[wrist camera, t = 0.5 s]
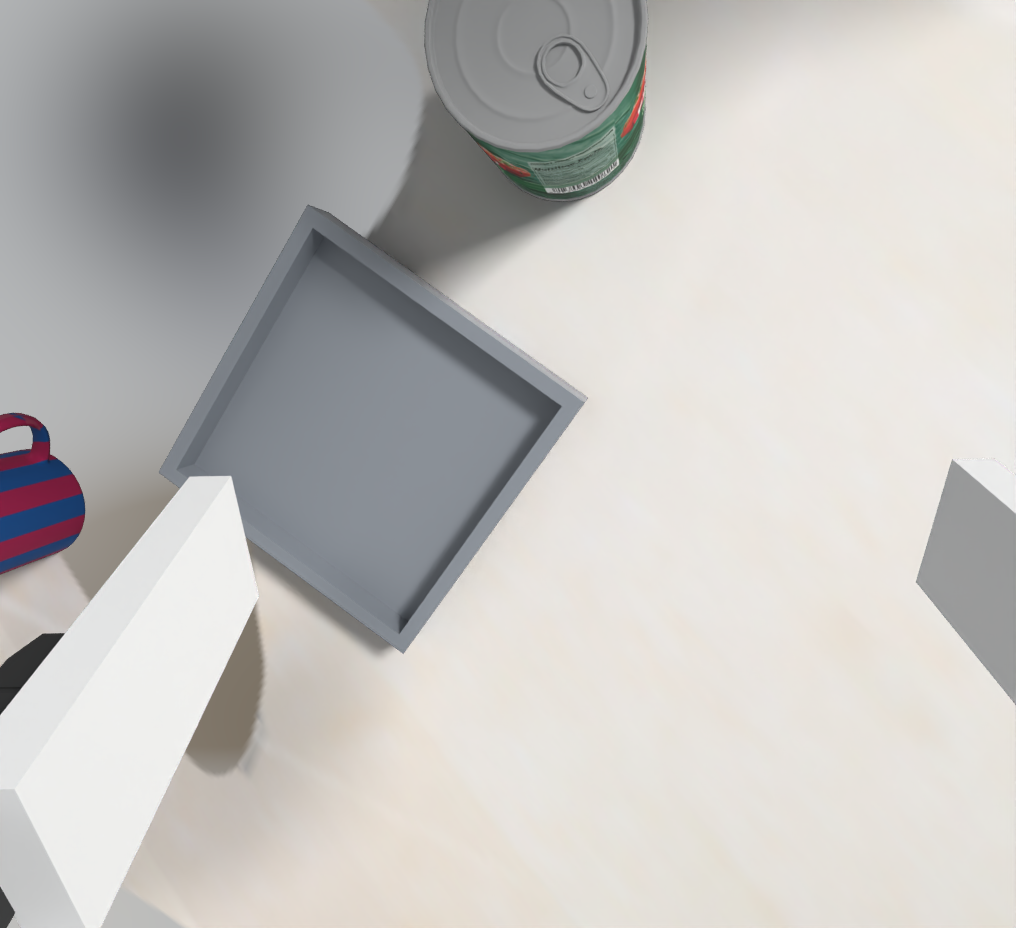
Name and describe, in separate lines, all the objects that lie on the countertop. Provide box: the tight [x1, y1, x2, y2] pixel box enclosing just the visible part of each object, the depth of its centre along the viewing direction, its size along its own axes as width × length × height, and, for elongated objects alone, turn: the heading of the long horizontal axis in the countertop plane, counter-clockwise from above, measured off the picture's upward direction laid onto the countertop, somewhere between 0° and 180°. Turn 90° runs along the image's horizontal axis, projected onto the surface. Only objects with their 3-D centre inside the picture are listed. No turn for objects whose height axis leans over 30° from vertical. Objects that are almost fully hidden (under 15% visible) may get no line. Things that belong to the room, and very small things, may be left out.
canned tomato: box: [424, 0, 648, 201], centre depth 31 cm, size 8×8×11 cm
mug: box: [0, 413, 85, 574], centre depth 42 cm, size 7×10×7 cm
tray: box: [159, 205, 588, 653], centre depth 39 cm, size 17×17×2 cm
